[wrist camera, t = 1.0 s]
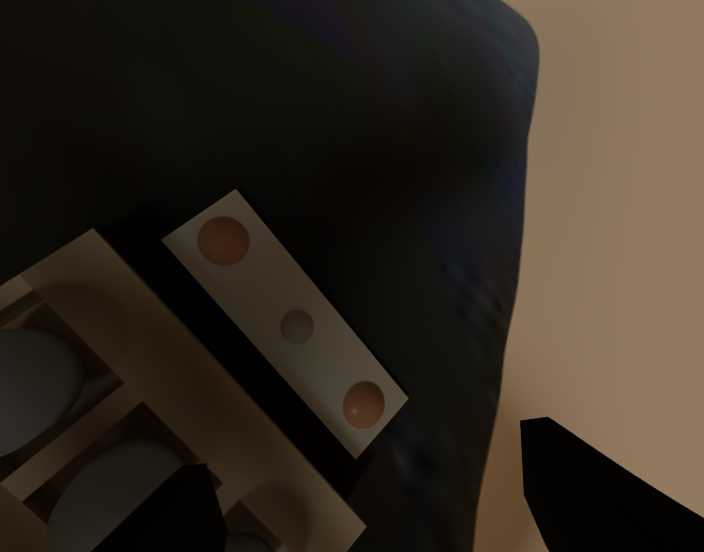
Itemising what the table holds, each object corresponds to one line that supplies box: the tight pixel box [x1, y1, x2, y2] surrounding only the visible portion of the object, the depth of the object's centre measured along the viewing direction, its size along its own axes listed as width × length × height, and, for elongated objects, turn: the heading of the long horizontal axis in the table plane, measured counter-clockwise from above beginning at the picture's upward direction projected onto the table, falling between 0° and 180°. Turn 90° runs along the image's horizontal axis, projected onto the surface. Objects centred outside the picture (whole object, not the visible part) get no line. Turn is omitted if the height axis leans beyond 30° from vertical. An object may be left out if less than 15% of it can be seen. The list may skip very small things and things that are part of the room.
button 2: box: [46, 436, 185, 552], centre depth 15 cm, size 4×4×3 cm
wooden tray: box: [0, 229, 366, 552], centre depth 18 cm, size 12×20×3 cm, turn 41°
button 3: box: [0, 328, 85, 457], centre depth 14 cm, size 4×4×3 cm
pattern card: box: [161, 189, 409, 459], centre depth 23 cm, size 5×17×1 cm, turn 42°
